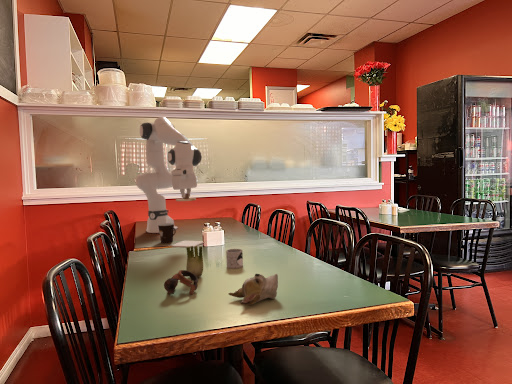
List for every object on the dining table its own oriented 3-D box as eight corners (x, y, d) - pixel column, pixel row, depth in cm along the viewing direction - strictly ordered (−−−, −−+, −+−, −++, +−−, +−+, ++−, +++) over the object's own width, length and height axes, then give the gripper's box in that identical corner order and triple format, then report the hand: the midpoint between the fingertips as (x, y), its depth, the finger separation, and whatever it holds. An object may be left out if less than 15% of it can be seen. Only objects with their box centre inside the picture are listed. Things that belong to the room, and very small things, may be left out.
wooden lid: (182, 199, 203) (182, 193, 202) (199, 199, 199) (199, 193, 199) (172, 201, 193) (172, 194, 193) (190, 201, 190) (189, 194, 189)
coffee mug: (157, 241, 208) (156, 224, 208) (172, 239, 212) (172, 222, 211) (161, 245, 198) (160, 226, 197) (177, 243, 201) (176, 225, 201)
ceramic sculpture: (285, 273, 109) (238, 284, 103) (287, 301, 110) (241, 313, 104) (269, 265, 119) (225, 275, 113) (271, 291, 120) (228, 302, 113)
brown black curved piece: (177, 287, 128) (188, 267, 127) (195, 304, 123) (206, 283, 122) (152, 289, 118) (164, 267, 117) (169, 307, 113) (182, 284, 112)
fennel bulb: (204, 276, 139) (203, 244, 138) (198, 279, 134) (197, 247, 133) (191, 274, 141) (190, 244, 140) (184, 278, 136) (183, 246, 135)
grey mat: (183, 241, 206) (183, 240, 206) (204, 242, 202) (204, 241, 202) (171, 246, 194) (171, 245, 194) (193, 247, 190) (193, 246, 190)
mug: (240, 268, 147) (240, 252, 147) (224, 268, 148) (224, 252, 148) (246, 262, 157) (245, 247, 156) (231, 262, 158) (230, 246, 158)
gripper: (189, 171, 206) (190, 195, 207) (169, 171, 187) (170, 198, 187) (199, 170, 204) (200, 195, 205) (180, 171, 185) (181, 198, 185)
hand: (185, 197), depth 196 cm, fingers closed on wooden lid, 3 cm apart
